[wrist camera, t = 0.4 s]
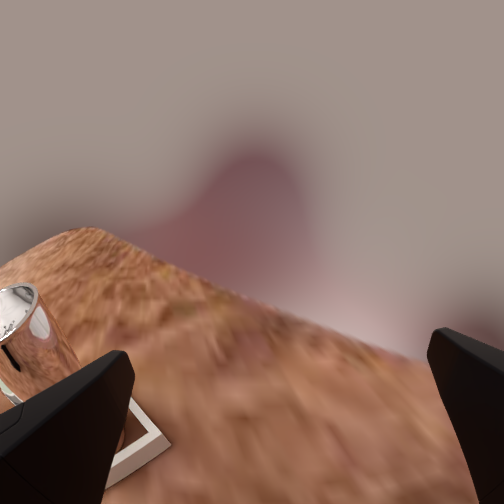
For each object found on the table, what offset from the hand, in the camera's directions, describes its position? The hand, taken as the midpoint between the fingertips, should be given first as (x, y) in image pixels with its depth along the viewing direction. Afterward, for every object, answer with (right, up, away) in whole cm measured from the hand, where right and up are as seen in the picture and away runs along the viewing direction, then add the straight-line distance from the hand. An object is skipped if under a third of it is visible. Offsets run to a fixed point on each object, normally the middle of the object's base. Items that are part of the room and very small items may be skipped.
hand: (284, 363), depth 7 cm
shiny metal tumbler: (-15, -14, +12) cm, 24 cm away
